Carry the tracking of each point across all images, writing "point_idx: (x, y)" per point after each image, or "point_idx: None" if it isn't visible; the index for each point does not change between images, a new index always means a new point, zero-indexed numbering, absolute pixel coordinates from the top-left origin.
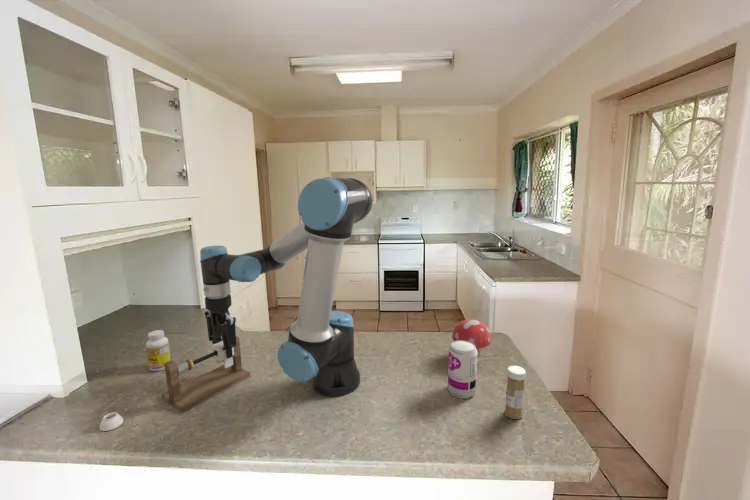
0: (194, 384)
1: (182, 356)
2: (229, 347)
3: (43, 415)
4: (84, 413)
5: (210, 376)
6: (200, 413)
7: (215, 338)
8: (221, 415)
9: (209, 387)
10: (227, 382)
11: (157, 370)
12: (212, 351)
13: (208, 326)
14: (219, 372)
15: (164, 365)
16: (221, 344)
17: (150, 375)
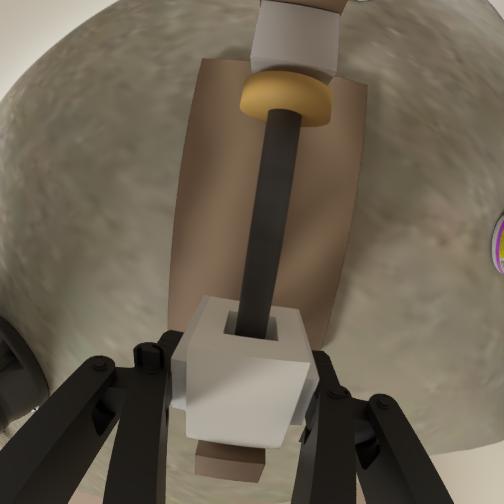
0: (311, 180)
1: (491, 315)
2: (87, 361)
3: (488, 18)
4: (449, 18)
5: (299, 259)
6: (149, 94)
7: (315, 429)
8: (86, 128)
9: (224, 192)
10: (185, 255)
11: (500, 218)
12: (299, 331)
13: (426, 497)
14: (288, 299)
15: (500, 239)
16: (236, 399)
17: (497, 193)
